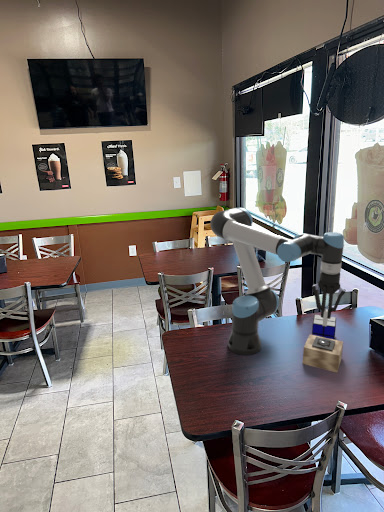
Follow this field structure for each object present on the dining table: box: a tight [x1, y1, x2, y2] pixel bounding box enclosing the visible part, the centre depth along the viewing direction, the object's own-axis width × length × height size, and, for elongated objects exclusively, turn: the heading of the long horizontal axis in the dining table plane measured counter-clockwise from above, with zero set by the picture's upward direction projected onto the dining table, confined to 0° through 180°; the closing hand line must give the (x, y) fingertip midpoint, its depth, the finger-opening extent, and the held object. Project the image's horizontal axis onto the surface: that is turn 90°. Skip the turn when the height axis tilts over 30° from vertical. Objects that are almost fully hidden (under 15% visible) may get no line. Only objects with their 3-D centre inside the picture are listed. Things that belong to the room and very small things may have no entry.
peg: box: [318, 339, 329, 347], centre depth 152 cm, size 4×4×8 cm
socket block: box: [302, 333, 344, 374], centre depth 152 cm, size 14×12×9 cm
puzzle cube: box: [311, 314, 337, 340], centre depth 169 cm, size 10×10×10 cm
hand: (324, 324), depth 149 cm, fingers closed
